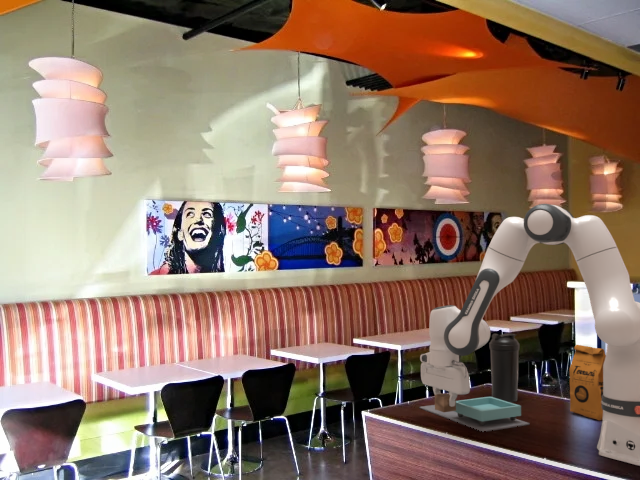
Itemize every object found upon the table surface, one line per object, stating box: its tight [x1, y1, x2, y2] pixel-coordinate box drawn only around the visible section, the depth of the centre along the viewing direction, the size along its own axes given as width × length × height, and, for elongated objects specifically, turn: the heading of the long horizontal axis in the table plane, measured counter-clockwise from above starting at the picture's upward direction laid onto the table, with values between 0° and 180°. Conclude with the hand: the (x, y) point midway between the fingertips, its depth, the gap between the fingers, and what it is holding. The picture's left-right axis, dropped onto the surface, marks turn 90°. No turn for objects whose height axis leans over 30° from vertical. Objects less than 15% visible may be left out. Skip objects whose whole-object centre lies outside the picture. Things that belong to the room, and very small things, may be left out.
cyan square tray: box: [454, 396, 522, 425], centre depth 204 cm, size 14×15×5 cm
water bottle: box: [488, 332, 521, 403], centre depth 233 cm, size 10×10×23 cm
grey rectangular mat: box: [419, 404, 530, 433], centre depth 211 cm, size 32×18×1 cm, turn 26°
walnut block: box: [434, 392, 457, 412], centre depth 202 cm, size 4×4×4 cm
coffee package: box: [569, 344, 606, 421], centre depth 210 cm, size 10×12×22 cm
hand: (445, 404), depth 202 cm, fingers closed on walnut block, 4 cm apart
